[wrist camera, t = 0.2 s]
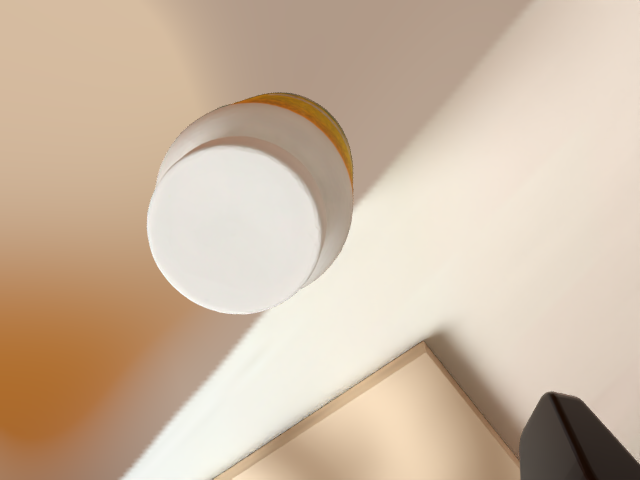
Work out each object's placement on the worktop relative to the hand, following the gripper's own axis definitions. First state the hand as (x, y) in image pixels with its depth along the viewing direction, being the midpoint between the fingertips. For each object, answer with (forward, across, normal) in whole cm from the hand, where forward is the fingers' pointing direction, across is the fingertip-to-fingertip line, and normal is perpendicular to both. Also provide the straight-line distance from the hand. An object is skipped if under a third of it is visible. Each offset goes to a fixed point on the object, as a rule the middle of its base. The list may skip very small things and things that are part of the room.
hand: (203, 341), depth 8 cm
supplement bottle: (+15, +1, +5) cm, 16 cm away
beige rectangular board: (+11, -4, +18) cm, 22 cm away
